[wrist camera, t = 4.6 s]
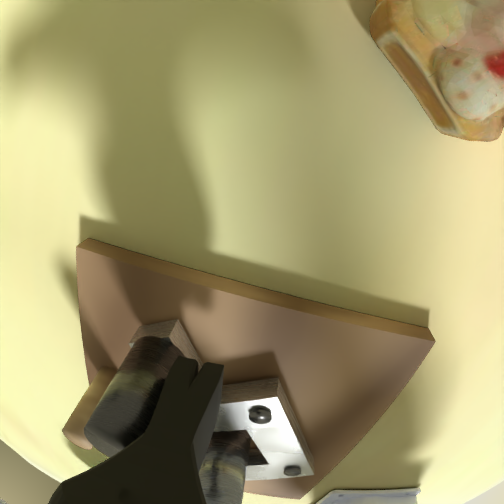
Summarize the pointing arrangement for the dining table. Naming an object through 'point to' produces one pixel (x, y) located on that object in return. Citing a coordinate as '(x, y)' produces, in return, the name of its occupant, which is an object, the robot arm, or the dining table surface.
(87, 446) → the dowel
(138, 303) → the board
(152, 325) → the flange
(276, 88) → the dining table surface
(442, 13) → the topped waffle
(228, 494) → the post
